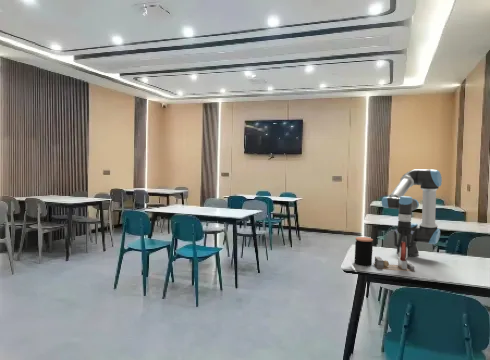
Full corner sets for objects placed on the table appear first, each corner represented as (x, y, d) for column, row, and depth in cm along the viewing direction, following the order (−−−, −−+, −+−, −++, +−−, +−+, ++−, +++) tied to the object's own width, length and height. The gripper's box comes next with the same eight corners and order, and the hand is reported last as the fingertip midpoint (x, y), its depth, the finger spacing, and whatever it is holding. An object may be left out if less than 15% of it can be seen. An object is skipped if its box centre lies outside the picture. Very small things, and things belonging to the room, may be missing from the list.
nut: (381, 265, 233) (381, 259, 233) (387, 266, 233) (388, 259, 233) (382, 267, 229) (383, 261, 229) (389, 267, 229) (389, 261, 229)
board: (373, 265, 238) (373, 255, 238) (408, 268, 236) (408, 258, 235) (377, 271, 226) (378, 260, 225) (414, 273, 223) (415, 263, 222)
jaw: (397, 265, 234) (398, 240, 234) (402, 265, 234) (403, 240, 233) (401, 269, 226) (403, 243, 225) (407, 269, 225) (408, 243, 224)
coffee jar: (373, 265, 238) (374, 238, 238) (368, 269, 229) (370, 241, 229) (357, 262, 244) (358, 236, 244) (352, 266, 235) (353, 238, 235)
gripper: (392, 221, 226) (390, 258, 227) (420, 222, 224) (418, 260, 225) (389, 219, 233) (387, 255, 234) (416, 220, 231) (414, 257, 232)
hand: (402, 257), depth 230 cm, fingers closed on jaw, 3 cm apart
